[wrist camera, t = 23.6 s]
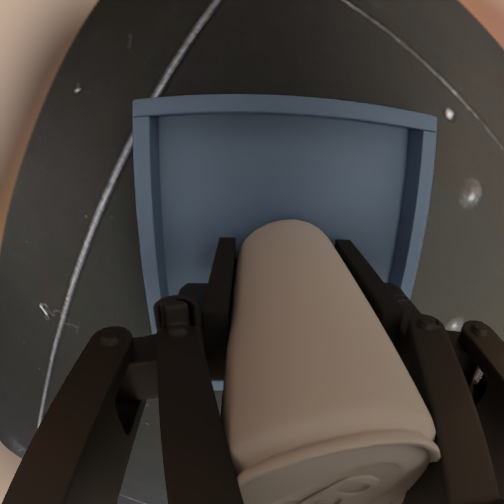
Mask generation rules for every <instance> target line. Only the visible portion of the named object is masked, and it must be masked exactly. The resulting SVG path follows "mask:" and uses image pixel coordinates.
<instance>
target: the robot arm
mask: <svg viewBox="0 0 504 504" xmlns="http://www.w3.org/2000/svg"><path fill="white" fill-rule="evenodd" d="M334 248H335V249H336V251H337V252H338V254H339V255H340V257H341V259H342V260H343V262H344V263H345V265H346V267H347V268H348V270H349V271H350V273H351V275H352V276H353V278H354V279H355V281H356V283H357V284H358V286H359V287H360V289H361V291H362V292H363V294H364V296H365V297H366V299H367V301H368V302H369V304H370V306H371V307H372V309H373V311H374V312H375V314H376V316H377V318H378V319H379V321H380V323H381V324H382V326H383V328H384V330H385V331H386V333H387V335H388V337H389V338H390V340H391V342H392V344H393V345H394V347H395V349H396V351H397V353H398V354H399V356H400V358H401V360H402V362H403V363H404V365H405V367H406V369H407V371H408V373H409V375H410V376H411V378H412V380H413V382H414V384H415V386H416V388H417V390H418V392H419V393H420V395H421V397H422V399H423V401H424V403H425V405H426V407H427V409H428V411H429V413H430V415H431V417H432V420H433V423H434V426H435V430H436V436H435V441H434V443H435V444H436V445H437V446H438V448H439V451H440V455H441V457H440V459H439V460H438V461H437V462H430V463H429V464H428V467H427V468H426V470H425V471H424V472H423V474H422V475H421V476H420V477H419V479H418V480H417V481H416V482H415V483H414V485H413V486H412V487H411V488H410V489H409V490H408V491H406V495H405V498H404V500H403V502H402V504H504V342H503V341H502V340H501V339H500V338H499V336H498V335H497V334H496V333H495V332H494V331H493V330H492V329H491V328H490V327H489V326H487V325H486V324H484V323H483V322H480V321H479V322H478V321H467V322H465V323H464V324H463V327H462V329H461V332H456V331H448V330H445V328H444V326H443V324H442V323H441V322H440V321H439V320H438V319H436V318H434V317H432V316H429V315H424V314H421V313H420V312H419V311H418V309H417V308H416V307H415V306H414V304H413V303H412V302H411V301H410V299H409V298H408V297H407V296H406V295H405V293H404V292H403V291H402V290H401V288H399V287H398V286H396V285H394V284H393V283H384V282H383V281H382V279H381V278H380V277H379V275H378V274H377V273H376V272H375V270H374V269H373V268H372V266H371V265H370V264H369V263H368V261H367V260H366V259H365V258H364V256H363V255H362V254H361V253H360V251H359V250H358V249H357V248H356V246H355V245H354V244H353V243H352V242H351V240H342V239H335V246H334ZM235 262H236V237H220V238H219V242H218V246H217V250H216V253H215V257H214V261H213V265H212V269H211V273H210V277H209V281H208V283H187V284H186V285H184V286H183V287H182V288H181V289H180V291H179V293H178V295H171V296H166V297H164V298H161V299H159V300H158V301H157V302H156V303H155V304H154V307H153V310H154V317H155V323H156V330H157V333H156V334H153V335H150V336H145V337H138V338H132V335H131V333H130V331H129V330H127V329H125V328H123V327H118V326H116V327H106V328H103V329H101V330H99V331H97V332H96V333H95V334H94V335H93V336H92V337H91V339H90V341H89V342H88V344H87V345H86V347H85V349H84V350H83V352H82V353H81V355H80V357H79V358H78V360H77V361H76V363H75V365H74V366H73V368H72V370H71V371H70V373H69V375H68V376H67V378H66V380H65V381H64V383H63V385H62V387H61V388H60V390H59V392H58V393H57V395H56V397H55V399H54V401H53V402H52V404H51V406H50V408H49V409H48V411H47V413H46V415H45V417H44V419H43V420H42V422H41V424H40V426H39V428H38V430H37V432H36V433H35V435H34V437H33V439H32V441H31V443H30V445H29V447H28V449H27V451H26V453H25V455H24V457H23V459H22V461H21V463H20V465H19V467H18V469H17V471H16V473H15V476H14V478H13V480H12V482H11V484H10V486H9V489H8V491H7V493H6V495H5V498H4V500H3V502H2V504H117V500H118V496H119V493H120V489H121V485H122V482H123V478H124V474H125V471H126V467H127V464H128V460H129V457H130V453H131V450H132V446H133V443H134V440H135V436H136V433H137V430H138V426H139V423H140V420H141V416H142V413H143V410H144V407H145V404H146V399H149V398H156V397H159V414H160V429H161V441H162V453H163V463H164V472H165V481H166V489H167V497H168V504H244V502H243V499H242V495H241V492H240V488H239V485H238V482H237V478H236V475H235V471H234V468H233V464H232V460H231V457H230V453H229V449H228V446H227V442H226V438H225V434H224V430H223V427H222V423H221V419H220V415H219V411H218V406H217V402H216V398H215V394H214V390H213V386H212V381H211V380H224V374H225V363H226V352H227V343H228V334H229V323H230V313H231V302H232V292H233V282H234V272H235ZM479 369H481V371H482V372H483V374H484V375H483V377H482V379H481V380H480V382H479V383H477V382H476V381H475V377H476V375H477V373H478V371H479Z"/></svg>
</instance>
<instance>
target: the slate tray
mask: <svg viewBox="0 0 504 504" xmlns="http://www.w3.org/2000/svg"><path fill="white" fill-rule="evenodd" d="M133 117H134V118H133V119H132V120H133V161H134V182H135V198H136V211H137V223H138V234H139V243H140V253H141V261H142V269H143V277H144V285H145V292H146V299H147V305H148V312H149V318H150V324H151V330H152V335H153V334H156V333H157V330H156V323H155V317H154V310H153V307H154V304H155V303H156V302H157V301H158V300H159V299H161V298H164V297H166V296H171V295H178V293H179V291H180V289H181V288H182V287H183V286H184V285H186V284H187V283H208V281H209V277H210V273H211V269H212V265H213V261H214V257H215V253H216V250H217V246H218V242H219V238H220V237H236V258H237V254H238V250H239V248H240V247H241V245H242V244H243V242H244V240H245V239H246V238H247V237H248V236H249V235H250V234H252V233H253V232H254V231H255V230H257V229H259V228H261V227H263V226H265V225H266V224H268V223H272V222H276V221H279V220H289V219H296V220H301V221H305V222H309V223H310V224H312V225H314V226H316V227H318V228H319V229H320V230H321V231H322V232H323V233H324V234H325V235H326V236H327V237H328V238H329V240H330V241H331V243H332V245H333V246H335V239H342V240H351V242H352V243H353V244H354V245H355V246H356V248H357V249H358V250H359V251H360V253H361V254H362V255H363V256H364V258H365V259H366V260H367V261H368V263H369V264H370V265H371V266H372V268H373V269H374V270H375V272H376V273H377V274H378V275H379V277H380V278H381V279H382V281H383V282H384V283H393V284H394V285H396V286H398V287H399V288H401V290H402V291H403V292H404V293H405V295H406V296H407V297H408V298H409V299H410V298H411V294H412V290H413V286H414V282H415V277H416V273H417V269H418V264H419V259H420V254H421V250H422V244H423V239H424V234H425V228H426V222H427V216H428V210H429V203H430V196H431V188H432V180H433V171H434V162H435V150H436V137H437V133H435V132H436V131H437V117H436V116H433V115H429V114H424V113H419V112H414V111H409V110H404V109H399V108H393V107H387V106H381V105H375V104H368V103H361V102H353V101H345V100H336V99H326V98H316V97H303V96H287V95H264V94H205V95H182V96H167V97H154V98H144V99H134V100H133ZM211 381H212V386H213V390H223V385H224V380H211Z"/></svg>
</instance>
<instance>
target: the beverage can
mask: <svg viewBox="0 0 504 504" xmlns="http://www.w3.org/2000/svg"><path fill="white" fill-rule="evenodd" d="M221 423H222V427H223V430H224V434H225V438H226V442H227V446H228V449H229V453H230V457H231V460H232V464H233V468H234V471H235V475H236V478H237V482H238V485H239V488H240V492H241V495H242V499H243V502H244V504H402V502H403V500H404V498H405V495H406V491H408V490H409V489H410V488H411V487H412V486H413V485H414V483H415V482H416V481H417V480H418V479H419V477H420V476H421V475H422V474H423V472H424V471H425V470H426V468H427V467H428V464H429V463H430V462H437V461H438V460H439V459H440V457H441V455H440V451H439V448H438V446H437V445H436V444H435V443H434V441H435V436H436V430H435V426H434V423H433V420H432V417H431V415H430V413H429V411H428V409H427V407H426V405H425V403H424V401H423V399H422V397H421V395H420V393H419V392H418V390H417V388H416V386H415V384H414V382H413V380H412V378H411V376H410V375H409V373H408V371H407V369H406V367H405V365H404V363H403V362H402V360H401V358H400V356H399V354H398V353H397V351H396V349H395V347H394V345H393V344H392V342H391V340H390V338H389V337H388V335H387V333H386V331H385V330H384V328H383V326H382V324H381V323H380V321H379V319H378V318H377V316H376V314H375V312H374V311H373V309H372V307H371V306H370V304H369V302H368V301H367V299H366V297H365V296H364V294H363V292H362V291H361V289H360V287H359V286H358V284H357V283H356V281H355V279H354V278H353V276H352V275H351V273H350V271H349V270H348V268H347V267H346V265H345V263H344V262H343V260H342V259H341V257H340V255H339V254H338V252H337V251H336V249H335V248H334V246H333V245H332V243H331V241H330V240H329V238H328V237H327V236H326V235H325V234H324V233H323V232H322V231H321V230H320V229H319V228H318V227H316V226H314V225H312V224H310V223H309V222H305V221H301V220H296V219H289V220H279V221H276V222H272V223H268V224H266V225H265V226H263V227H261V228H259V229H257V230H255V231H254V232H253V233H252V234H250V235H249V236H248V237H247V238H246V239H245V240H244V242H243V244H242V245H241V247H240V248H239V250H238V254H237V258H236V262H235V272H234V282H233V292H232V302H231V313H230V323H229V334H228V343H227V352H226V363H225V374H224V385H223V396H222V407H221Z"/></svg>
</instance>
